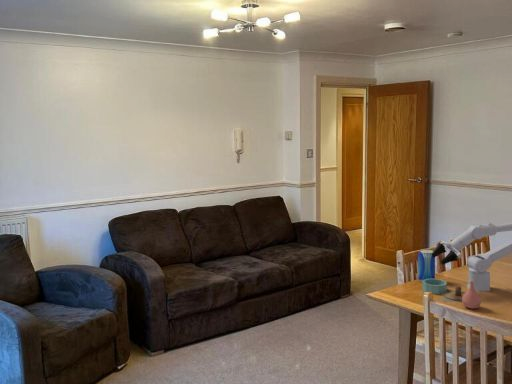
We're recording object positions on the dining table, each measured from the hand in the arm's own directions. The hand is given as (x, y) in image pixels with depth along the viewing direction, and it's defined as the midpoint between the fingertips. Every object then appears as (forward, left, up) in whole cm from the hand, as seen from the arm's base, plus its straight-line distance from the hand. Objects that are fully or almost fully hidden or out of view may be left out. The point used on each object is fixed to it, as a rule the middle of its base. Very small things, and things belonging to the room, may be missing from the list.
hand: (436, 259), depth 241 cm
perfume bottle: (-13, +20, -16) cm, 29 cm away
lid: (-9, +7, -16) cm, 20 cm away
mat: (-9, +7, -16) cm, 20 cm away
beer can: (+4, -16, -16) cm, 23 cm away
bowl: (+1, -1, -16) cm, 16 cm away
